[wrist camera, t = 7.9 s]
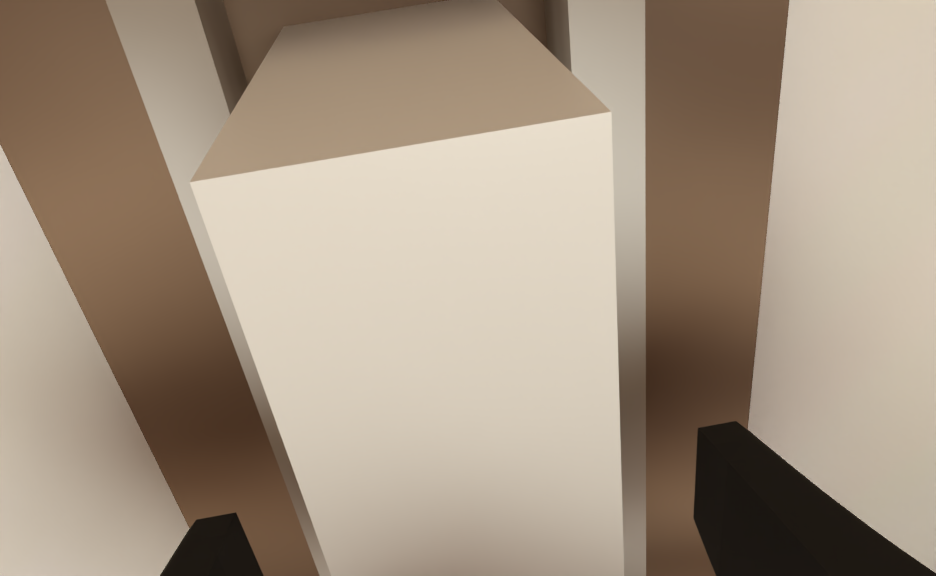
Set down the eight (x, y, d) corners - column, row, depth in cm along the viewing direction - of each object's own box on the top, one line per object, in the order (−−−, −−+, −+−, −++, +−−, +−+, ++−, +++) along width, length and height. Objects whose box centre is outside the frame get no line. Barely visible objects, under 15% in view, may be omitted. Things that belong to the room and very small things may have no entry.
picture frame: (711, 653, 21) (747, 735, 19) (306, 731, 20) (299, 823, 18) (804, -513, 8) (935, -631, 6) (-213, -374, 8) (-402, -455, 6)
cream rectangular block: (555, 599, 17) (667, 1035, 11) (435, 622, 17) (473, 1076, 11) (490, -8, 10) (701, 200, 4) (283, 26, 10) (118, 299, 4)
